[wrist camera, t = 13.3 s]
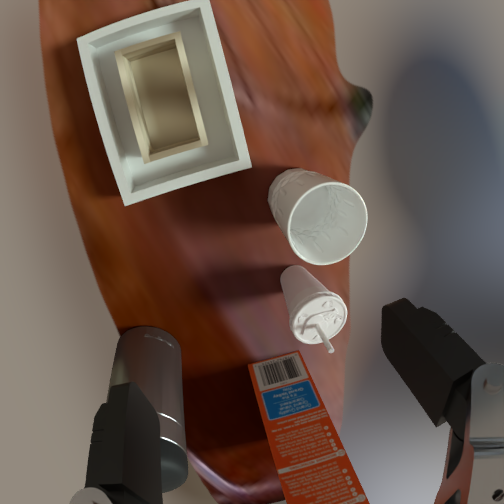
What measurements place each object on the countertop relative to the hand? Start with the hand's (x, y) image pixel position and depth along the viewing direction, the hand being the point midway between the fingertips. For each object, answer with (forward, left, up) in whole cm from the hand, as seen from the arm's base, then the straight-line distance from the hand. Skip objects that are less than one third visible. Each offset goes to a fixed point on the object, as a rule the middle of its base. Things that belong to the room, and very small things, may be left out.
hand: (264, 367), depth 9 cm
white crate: (+5, +8, -28) cm, 30 cm away
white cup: (+3, -10, -28) cm, 30 cm away
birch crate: (+5, +8, -27) cm, 29 cm away
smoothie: (-6, -16, -28) cm, 33 cm away
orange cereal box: (-27, -29, -28) cm, 49 cm away
